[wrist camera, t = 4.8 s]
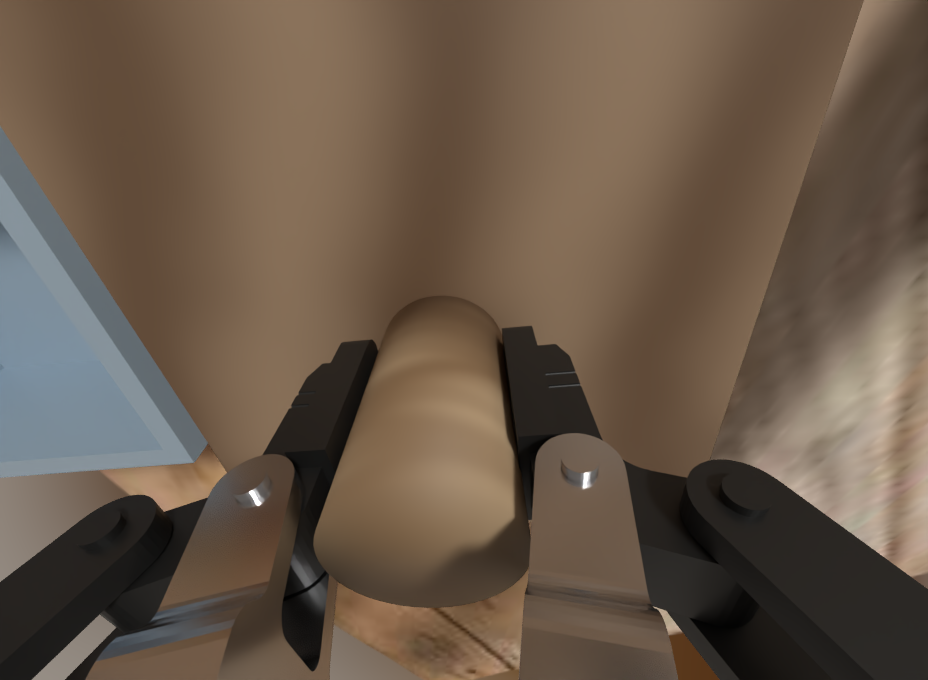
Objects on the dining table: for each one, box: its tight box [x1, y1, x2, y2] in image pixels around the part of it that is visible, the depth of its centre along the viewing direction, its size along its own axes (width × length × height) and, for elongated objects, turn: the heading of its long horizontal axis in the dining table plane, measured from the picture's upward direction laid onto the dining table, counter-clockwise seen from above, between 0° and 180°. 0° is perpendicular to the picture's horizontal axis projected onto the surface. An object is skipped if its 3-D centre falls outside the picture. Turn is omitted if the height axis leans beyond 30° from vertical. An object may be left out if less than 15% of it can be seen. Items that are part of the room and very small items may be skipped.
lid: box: [0, 0, 864, 608], centre depth 9 cm, size 16×16×7 cm
